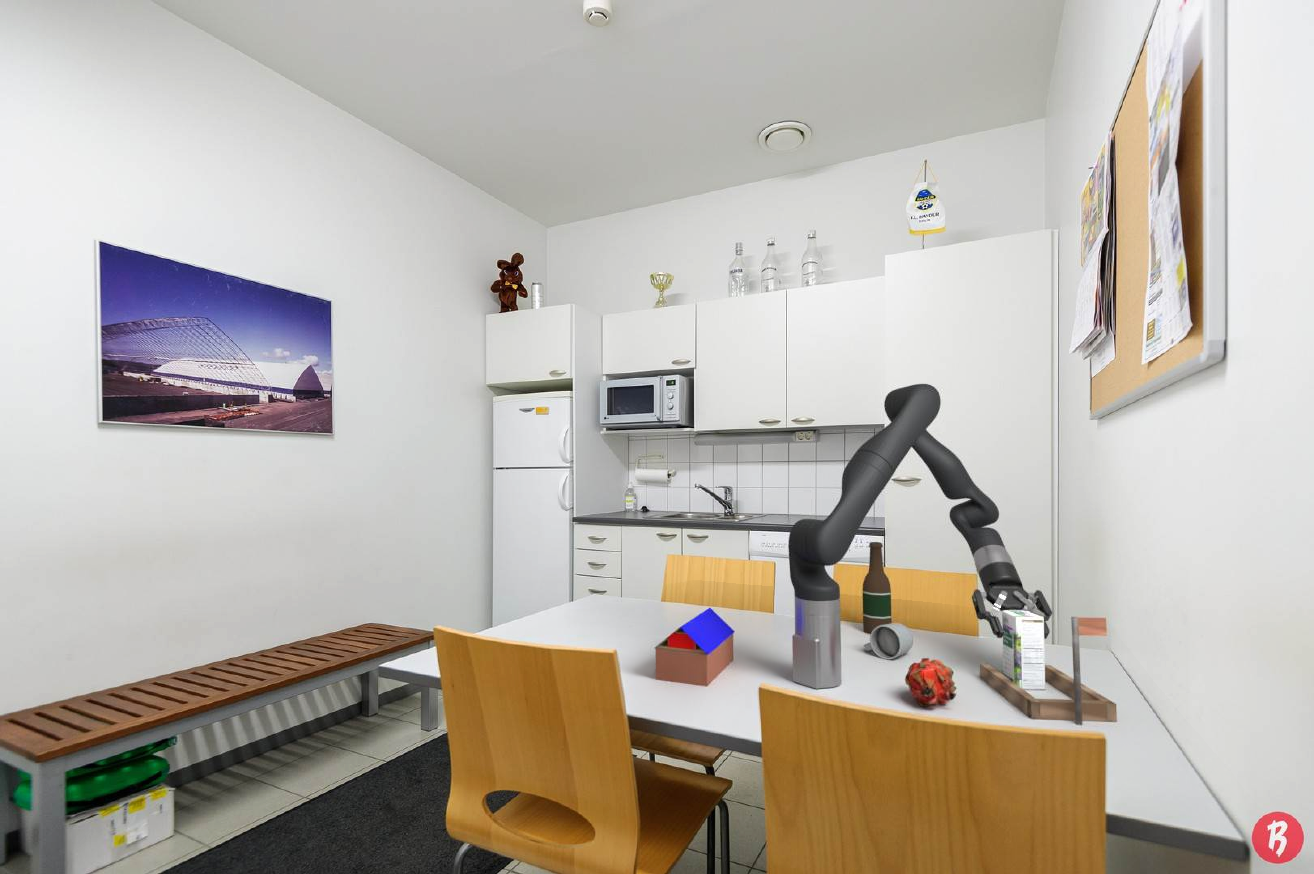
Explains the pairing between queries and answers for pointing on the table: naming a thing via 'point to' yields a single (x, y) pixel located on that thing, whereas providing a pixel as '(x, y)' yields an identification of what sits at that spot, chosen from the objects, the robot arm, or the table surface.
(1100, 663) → the table surface
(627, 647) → the table surface
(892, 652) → the ceramic mug
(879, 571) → the beer bottle
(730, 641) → the house
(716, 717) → the table surface
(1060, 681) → the wooden frame with flag
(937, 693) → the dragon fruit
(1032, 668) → the syrup box
